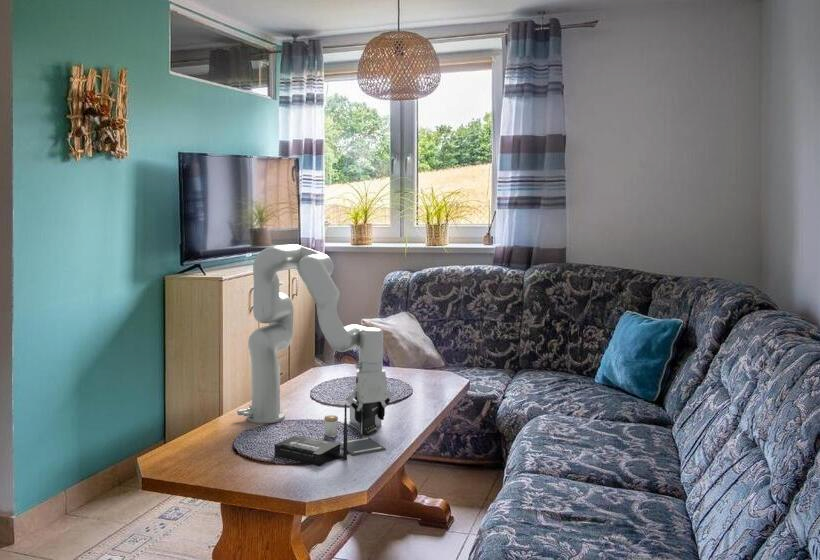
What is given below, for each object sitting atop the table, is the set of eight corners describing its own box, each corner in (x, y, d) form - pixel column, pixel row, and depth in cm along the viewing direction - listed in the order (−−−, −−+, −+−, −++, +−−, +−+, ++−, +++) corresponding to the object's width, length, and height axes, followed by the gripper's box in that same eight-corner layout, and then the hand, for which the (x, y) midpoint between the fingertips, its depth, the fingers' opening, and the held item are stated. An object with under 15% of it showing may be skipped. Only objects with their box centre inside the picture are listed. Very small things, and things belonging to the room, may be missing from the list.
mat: (352, 455, 210) (352, 453, 210) (337, 444, 220) (337, 442, 220) (385, 450, 216) (385, 447, 216) (369, 439, 225) (369, 436, 225)
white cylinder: (327, 438, 225) (327, 420, 224) (322, 434, 229) (322, 416, 228) (339, 436, 227) (339, 418, 226) (334, 432, 231) (334, 414, 230)
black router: (270, 459, 208) (270, 402, 206) (299, 445, 220) (299, 391, 218) (328, 472, 198) (328, 412, 196) (354, 457, 211) (355, 400, 209)
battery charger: (368, 437, 227) (369, 402, 225) (358, 435, 228) (359, 400, 227) (380, 431, 233) (381, 397, 231) (370, 429, 234) (371, 395, 233)
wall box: (359, 429, 235) (359, 403, 234) (348, 421, 242) (348, 397, 241) (382, 425, 239) (383, 400, 238) (371, 418, 246) (371, 394, 245)
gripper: (350, 371, 220) (349, 427, 222) (400, 366, 229) (399, 420, 231) (341, 366, 227) (340, 420, 229) (389, 361, 235) (388, 413, 237)
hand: (369, 419), depth 230 cm, fingers closed on battery charger, 7 cm apart
